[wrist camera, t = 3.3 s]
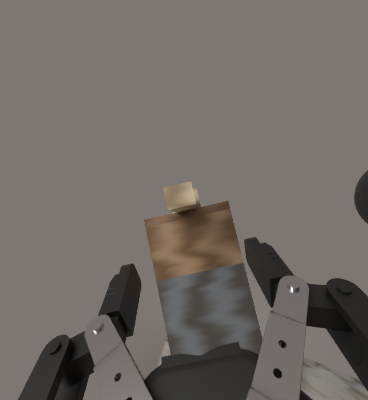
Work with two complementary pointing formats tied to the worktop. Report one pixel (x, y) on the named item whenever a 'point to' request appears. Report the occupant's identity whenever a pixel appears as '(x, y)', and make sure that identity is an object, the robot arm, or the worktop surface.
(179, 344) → the grey tall block
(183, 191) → the wooden key
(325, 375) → the worktop surface
